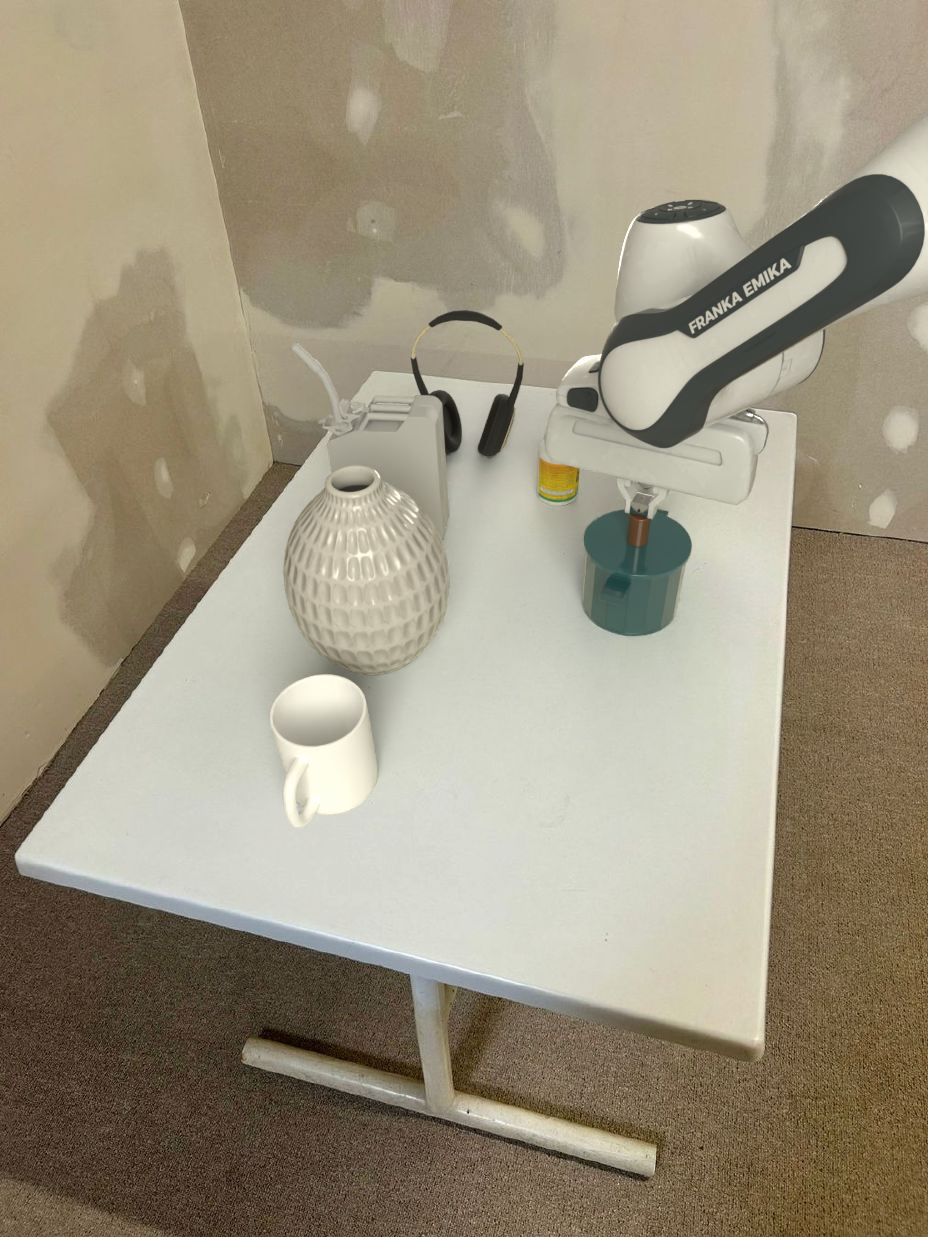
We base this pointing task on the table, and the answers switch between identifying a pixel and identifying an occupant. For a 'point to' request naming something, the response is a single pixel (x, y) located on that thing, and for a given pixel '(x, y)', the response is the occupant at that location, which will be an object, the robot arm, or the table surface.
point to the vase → (366, 573)
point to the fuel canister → (391, 442)
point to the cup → (323, 746)
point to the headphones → (501, 406)
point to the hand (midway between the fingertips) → (640, 513)
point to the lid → (637, 545)
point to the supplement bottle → (555, 479)
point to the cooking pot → (630, 600)
